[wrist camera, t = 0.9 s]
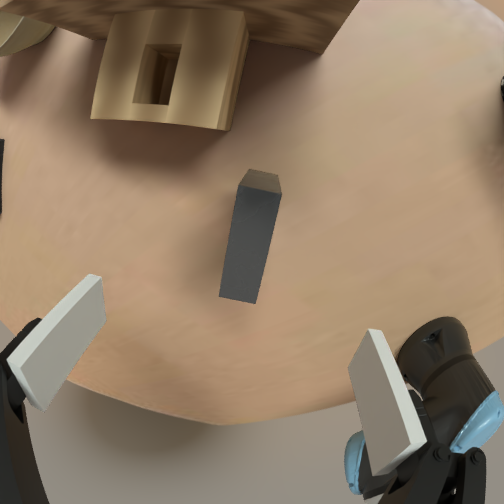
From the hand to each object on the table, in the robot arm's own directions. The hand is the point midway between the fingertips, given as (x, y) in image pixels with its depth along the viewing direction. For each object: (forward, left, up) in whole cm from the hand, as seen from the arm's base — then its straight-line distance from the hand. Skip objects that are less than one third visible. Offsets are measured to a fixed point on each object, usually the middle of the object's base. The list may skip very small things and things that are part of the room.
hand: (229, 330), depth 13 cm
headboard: (+12, -16, -25) cm, 32 cm away
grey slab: (0, 0, -25) cm, 25 cm away
